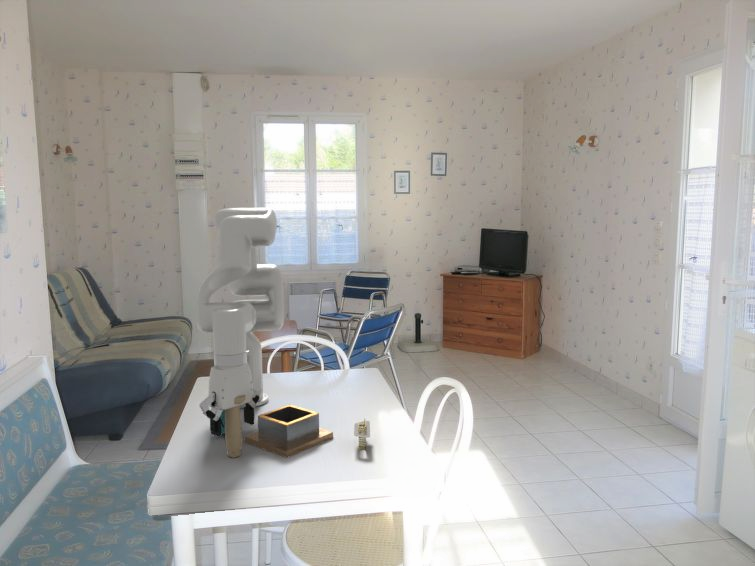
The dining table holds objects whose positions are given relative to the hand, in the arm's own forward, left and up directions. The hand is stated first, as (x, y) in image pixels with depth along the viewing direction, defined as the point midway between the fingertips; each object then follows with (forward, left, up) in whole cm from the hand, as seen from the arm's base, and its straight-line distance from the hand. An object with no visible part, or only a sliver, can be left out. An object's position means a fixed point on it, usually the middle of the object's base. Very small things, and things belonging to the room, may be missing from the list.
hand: (233, 429), depth 145 cm
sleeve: (+3, +15, -7) cm, 17 cm away
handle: (0, 0, -7) cm, 7 cm away
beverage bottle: (-13, +7, -7) cm, 16 cm away
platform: (+20, +24, -7) cm, 32 cm away
